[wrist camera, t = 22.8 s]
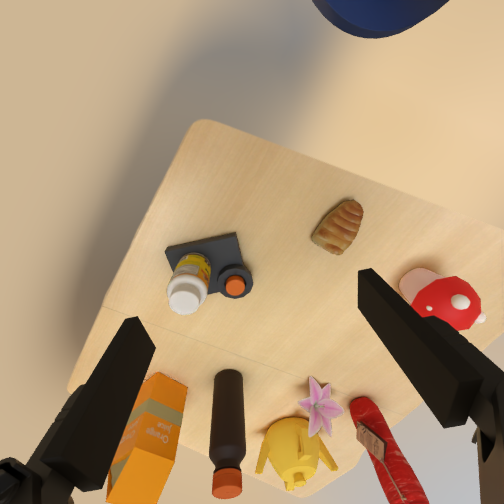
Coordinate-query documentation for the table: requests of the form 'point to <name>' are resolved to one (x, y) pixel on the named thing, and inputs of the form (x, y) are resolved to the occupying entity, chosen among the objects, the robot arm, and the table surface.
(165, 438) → the orange juice
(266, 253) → the table surface
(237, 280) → the button
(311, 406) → the lily
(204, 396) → the table surface
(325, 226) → the pastry
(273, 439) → the teapot
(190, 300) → the supplement bottle
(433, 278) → the mushroom
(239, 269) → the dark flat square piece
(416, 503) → the water bottle
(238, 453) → the vinegar
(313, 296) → the table surface
